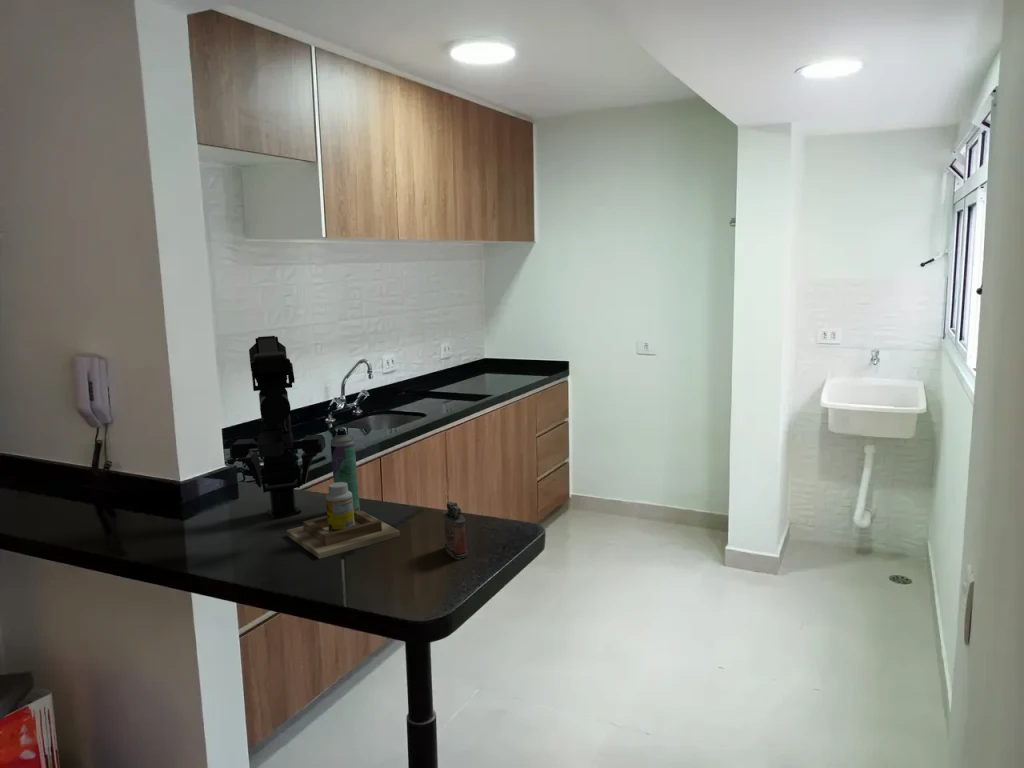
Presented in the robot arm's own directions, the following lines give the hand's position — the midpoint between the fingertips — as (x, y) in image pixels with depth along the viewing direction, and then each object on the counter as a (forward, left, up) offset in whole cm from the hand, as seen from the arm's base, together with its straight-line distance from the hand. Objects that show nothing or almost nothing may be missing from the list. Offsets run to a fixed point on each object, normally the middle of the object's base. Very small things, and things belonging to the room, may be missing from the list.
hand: (282, 485), depth 159 cm
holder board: (+7, +9, -12) cm, 17 cm away
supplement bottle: (+7, +9, -11) cm, 16 cm away
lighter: (+32, +22, -12) cm, 41 cm away
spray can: (-8, +17, -12) cm, 23 cm away
